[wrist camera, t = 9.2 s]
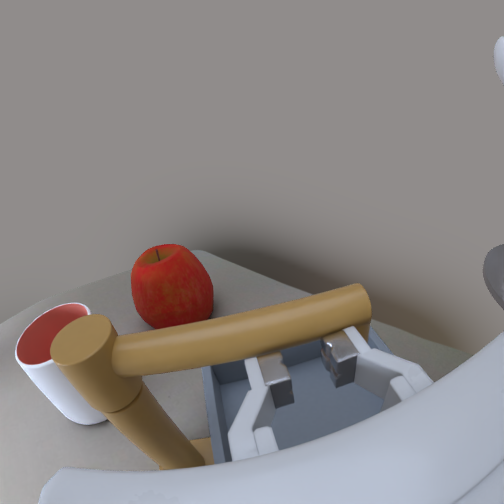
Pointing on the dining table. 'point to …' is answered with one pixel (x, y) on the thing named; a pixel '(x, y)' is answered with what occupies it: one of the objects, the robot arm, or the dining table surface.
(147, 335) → the spout
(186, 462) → the faucet base
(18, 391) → the dining table surface
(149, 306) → the apple
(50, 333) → the cup
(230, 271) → the dining table surface
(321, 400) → the sink
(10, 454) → the dining table surface
